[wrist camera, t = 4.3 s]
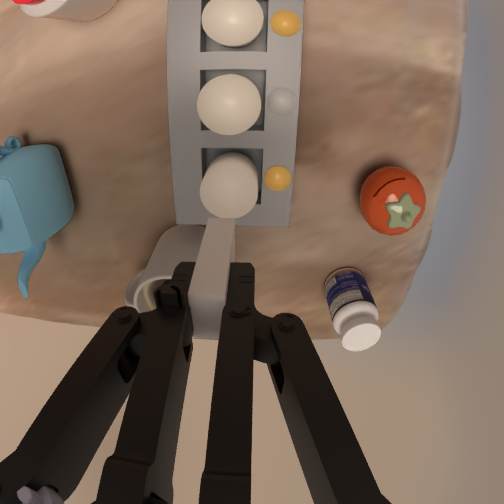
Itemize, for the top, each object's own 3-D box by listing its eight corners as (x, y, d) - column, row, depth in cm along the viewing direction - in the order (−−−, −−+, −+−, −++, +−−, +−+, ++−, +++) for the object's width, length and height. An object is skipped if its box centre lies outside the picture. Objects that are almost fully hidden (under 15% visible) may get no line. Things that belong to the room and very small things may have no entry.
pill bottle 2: (367, 290, 41) (387, 344, 33) (329, 303, 43) (342, 359, 34) (359, 259, 38) (382, 314, 30) (318, 274, 40) (332, 331, 32)
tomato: (394, 145, 30) (428, 169, 23) (417, 197, 33) (448, 230, 27) (339, 177, 32) (360, 209, 26) (367, 226, 36) (389, 265, 29)
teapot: (34, 252, 38) (-5, 302, 29) (-4, 140, 28) (-61, 174, 19) (97, 246, 38) (59, 305, 28) (60, 115, 28) (-4, 144, 18)
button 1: (207, 198, 29) (201, 218, 26) (205, 151, 26) (198, 165, 23) (256, 199, 29) (257, 219, 26) (258, 152, 26) (258, 166, 23)
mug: (236, 236, 37) (230, 292, 28) (214, 293, 42) (205, 351, 33) (148, 208, 35) (118, 258, 26) (137, 269, 40) (112, 323, 31)
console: (186, 202, 34) (176, 225, 30) (182, -12, 21) (168, -25, 17) (284, 205, 34) (289, 228, 30) (296, -13, 21) (304, -27, 17)
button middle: (205, 125, 25) (197, 135, 22) (205, 74, 22) (196, 75, 19) (259, 125, 25) (260, 135, 22) (261, 74, 22) (262, 75, 19)
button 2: (208, 48, 22) (200, 45, 19) (209, 2, 20) (202, -7, 17) (261, 48, 23) (262, 45, 19) (263, 2, 20) (264, -8, 17)
